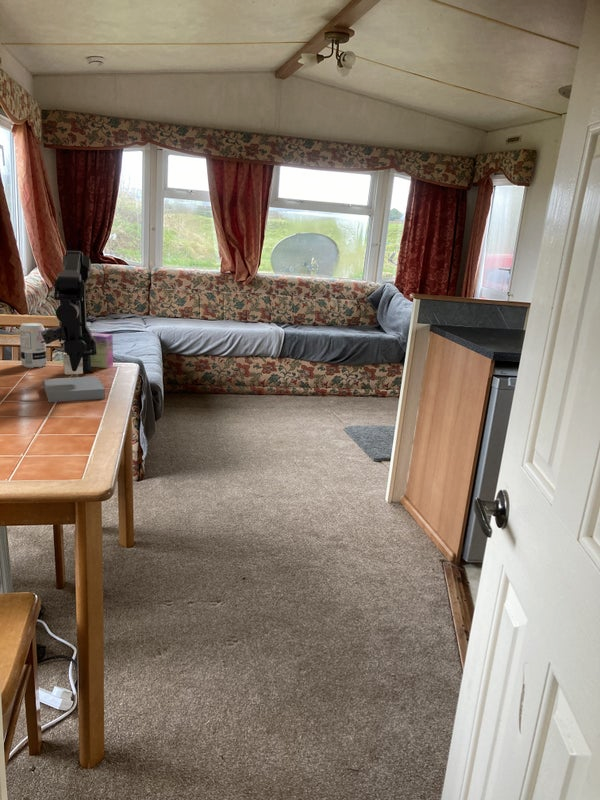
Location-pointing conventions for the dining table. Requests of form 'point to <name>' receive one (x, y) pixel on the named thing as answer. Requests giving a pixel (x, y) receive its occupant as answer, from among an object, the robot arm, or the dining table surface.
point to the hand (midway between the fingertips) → (73, 369)
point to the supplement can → (32, 345)
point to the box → (102, 350)
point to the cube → (69, 369)
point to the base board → (73, 389)
